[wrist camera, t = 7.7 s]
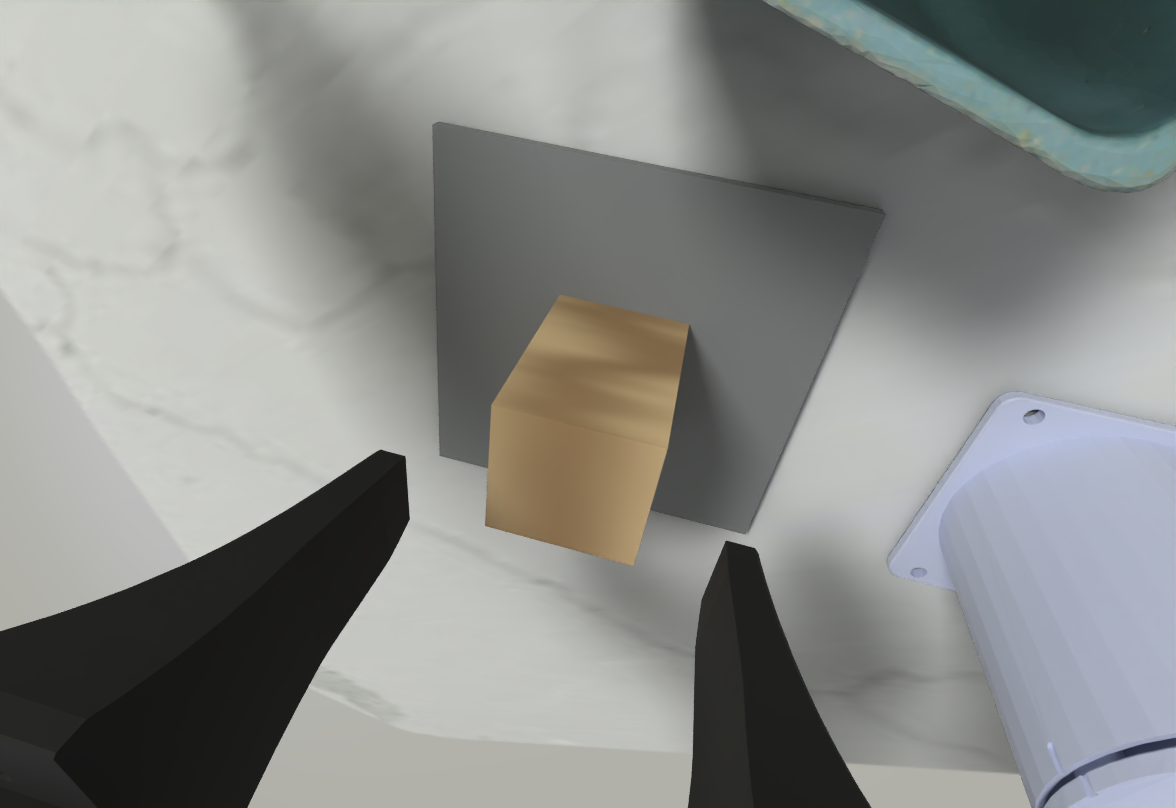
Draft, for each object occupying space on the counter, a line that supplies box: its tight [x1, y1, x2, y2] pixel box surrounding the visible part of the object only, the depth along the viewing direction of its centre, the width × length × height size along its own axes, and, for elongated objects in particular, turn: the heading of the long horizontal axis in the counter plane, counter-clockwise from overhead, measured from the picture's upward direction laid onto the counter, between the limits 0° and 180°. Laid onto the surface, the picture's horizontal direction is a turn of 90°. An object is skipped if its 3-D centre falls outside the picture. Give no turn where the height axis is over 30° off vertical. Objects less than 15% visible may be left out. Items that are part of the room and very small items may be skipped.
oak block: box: [485, 295, 689, 566], centre depth 16 cm, size 4×4×6 cm
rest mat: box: [433, 122, 885, 534], centre depth 19 cm, size 12×12×1 cm
